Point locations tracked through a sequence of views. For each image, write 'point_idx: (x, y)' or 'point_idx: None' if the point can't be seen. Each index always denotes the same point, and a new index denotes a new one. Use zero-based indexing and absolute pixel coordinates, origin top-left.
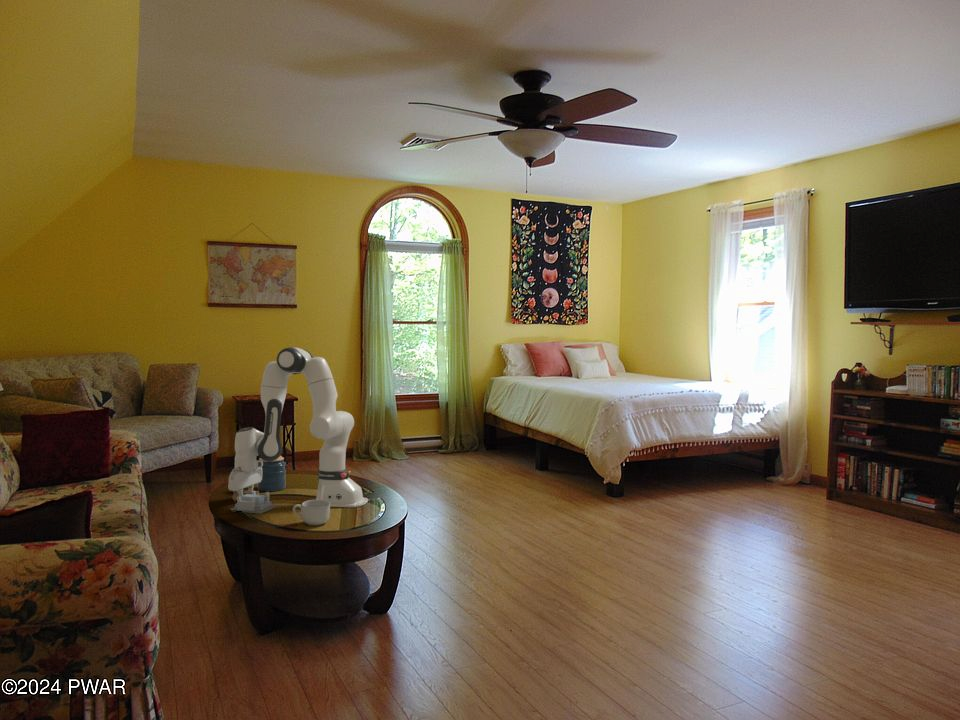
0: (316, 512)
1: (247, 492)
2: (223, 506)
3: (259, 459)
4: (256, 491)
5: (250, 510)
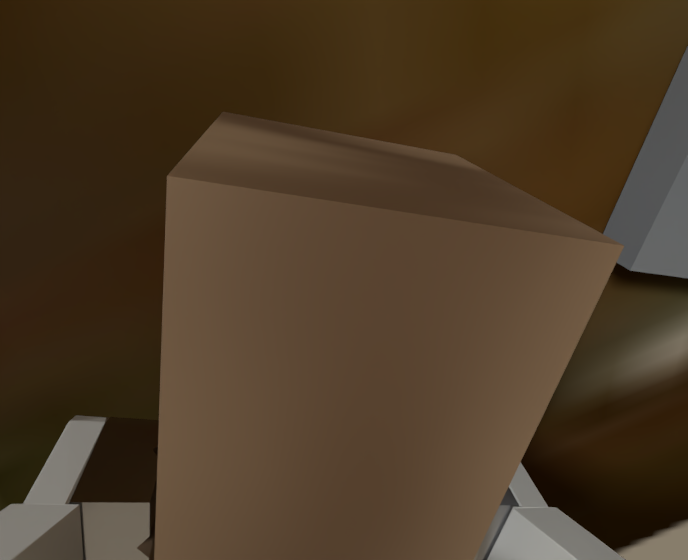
0: None
1: (504, 481)
2: (649, 497)
3: None
4: (316, 254)
5: None
